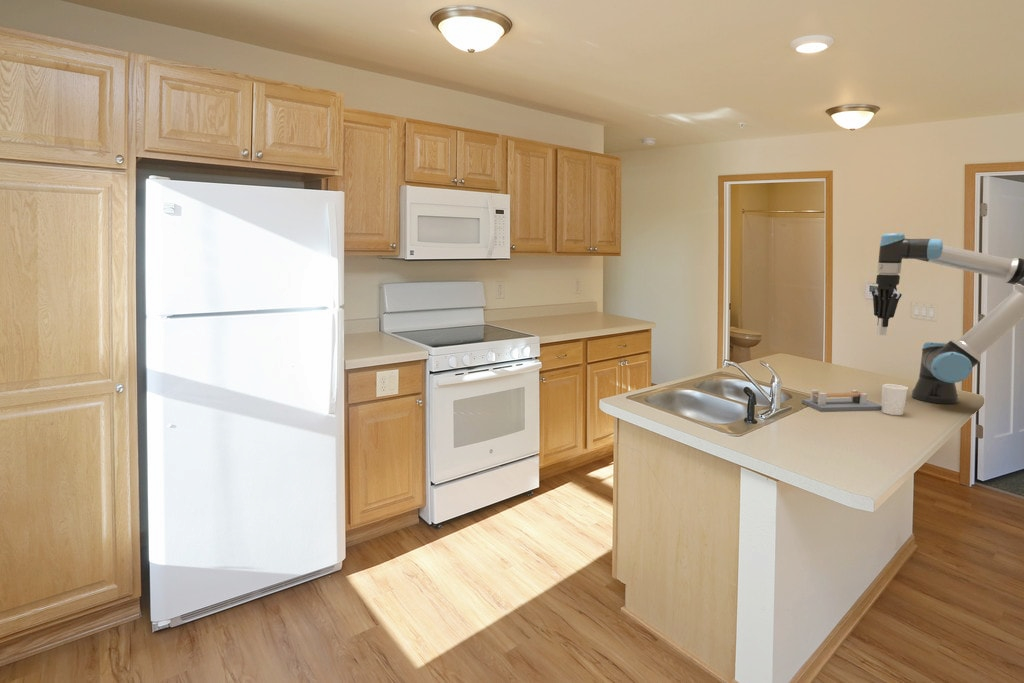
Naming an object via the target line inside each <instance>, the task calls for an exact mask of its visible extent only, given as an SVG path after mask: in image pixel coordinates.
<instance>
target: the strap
mask: <svg viewBox="0 0 1024 683" xmlns="http://www.w3.org/2000/svg"><path fill="white" fill-rule="evenodd" d="M819 393H820V392H818V393H815V394H814V395H813V396H816V397H818V398H819ZM860 394H865V392H864V393H863V392H860V391H858V392H851V391H850V392H827V396H826V398H851V397H857V396H860Z"/></svg>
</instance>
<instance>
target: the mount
mask: <svg viewBox="0 0 1024 683" xmlns="http://www.w3.org/2000/svg"><path fill="white" fill-rule="evenodd" d="M819 391H820V390H819V389H811V390H810V397H809V398H802V399H801V404H803V403H804V404H803V405H805V406H807V405H808V406H807V407H810V408H812V409H813V410H814V409H815V410H817V411H819V412H821V413H823V412H860V411H861V412H862V411H868V412H869V411H881V409H882V404H879V403H877V402H873V401H871V400H869V399H868V394H867V393H864V394H860V396H857V397H839V398H827V397H826V396H827V393H828V392H827V393H826V392H819ZM851 392H859V390H856V389H854V390H853V389H852V390H851V391H850V393H851ZM815 393H819V398H818V397H816V396H813V395H814V394H815Z"/></svg>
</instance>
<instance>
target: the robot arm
mask: <svg viewBox="0 0 1024 683" xmlns="http://www.w3.org/2000/svg"><path fill="white" fill-rule="evenodd" d="M905 236H906V235H905V233H895V232H894V233H884V234H882V235H881V237H880V244H879V249H878V250H879V252H878V254H879V255H878V263H877V264H878V265H877V272H876V273H878V274H877V275H876V279H875V284H876V285H877V288H876V289H875V290H873V291H871V295H872V300H873V302H872V304H873V315H874V316H875V317H877V324H876V325H877V332H876V335H877V336H887V331H888V327H889V320H890V319H891V318H892V319H893V318H894V317H895V314H896V311H897V307H898V303H899V301H900V300H901V298H902V295H903V294H902V293H899V292H898V288H897V285H900V279H901V275H899V274H901V272H902V260H905V259H906V260H918V261H922V262H927V263H931V264H936V265H940V266H945V267H948V268H952V269H953V268H954V269H957V270H962V271H966V272H971V273H975V274H979V275H983V276H988V277H992V278H997V279H1001V280H1002V281H1003V282H1004V283H1006V284H1011V285H1014V291H1012V292H1011V293H1009V295H1008V296H1007V297H1005V298H1004V299H1003V300H1002V301H1001V302H1000V303H999V304H997V306H995V307H994V308H993V309H992V310H991V311H989V313H987V314H986V315H984V316H983V317H982V319H980V320H979V321H978V322H976V323H975V324H974V326H973V327H971V328H969V330H968V331H967V332H965V333H964V334H963V335H962V336H961V337H960V338H958V339H950V340H949V341H948V342H946V343H945V342H943V343H942V342H930V341H929V342H928V341H927V342H924V343H923V345H922V349H921V361H920V369H919V376H918V380H917V382H916V383H915V386H914V388H912V391H911V397H912V398H913V399H915V400H918V401H923V402H928V403H935V404H942V405H943V404H945V405H949V404H950V405H951V404H957V403H959V395H958V393H957V385H956V383H959V382H962V381H964V380H966V379H967V378H968V377H969V376H971V373H972V370H973V368H974V367H975V366H977V365H978V364H979V363H980V362H981V355H982V354H983V353H985V352H986V351H987V350H988V349H989V348H990V347H992V346H993V345H994V344H996V343H997V342H998V341H999V340H1000V339H1001V338H1002V337H1004V336H1005V335H1006V334H1008V332H1009V331H1011V330H1012V329H1013V328H1014V327H1016V325H1018V324H1019V323H1020V322H1021V321H1022V320H1023V319H1024V258H1021V257H1014V258H1007V257H1003V256H1002V257H1001V256H997V255H992V254H987V253H983V252H978V251H974V250H970V249H966V248H965V249H964V248H961V247H955V246H950V245H946V244H943V240H942V239H940V238H906V237H905Z"/></svg>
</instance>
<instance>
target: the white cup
mask: <svg viewBox="0 0 1024 683" xmlns="http://www.w3.org/2000/svg"><path fill="white" fill-rule="evenodd" d="M881 389H882V390H881V402H880V405H882V409H881V410H880V411H881V413H884V414H886V415H891V416H903V415H904V411H905V405H906V403H907V397H908V391H909V387H908V386H905V385H900V384H894V383H885V384H882V388H881Z"/></svg>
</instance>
